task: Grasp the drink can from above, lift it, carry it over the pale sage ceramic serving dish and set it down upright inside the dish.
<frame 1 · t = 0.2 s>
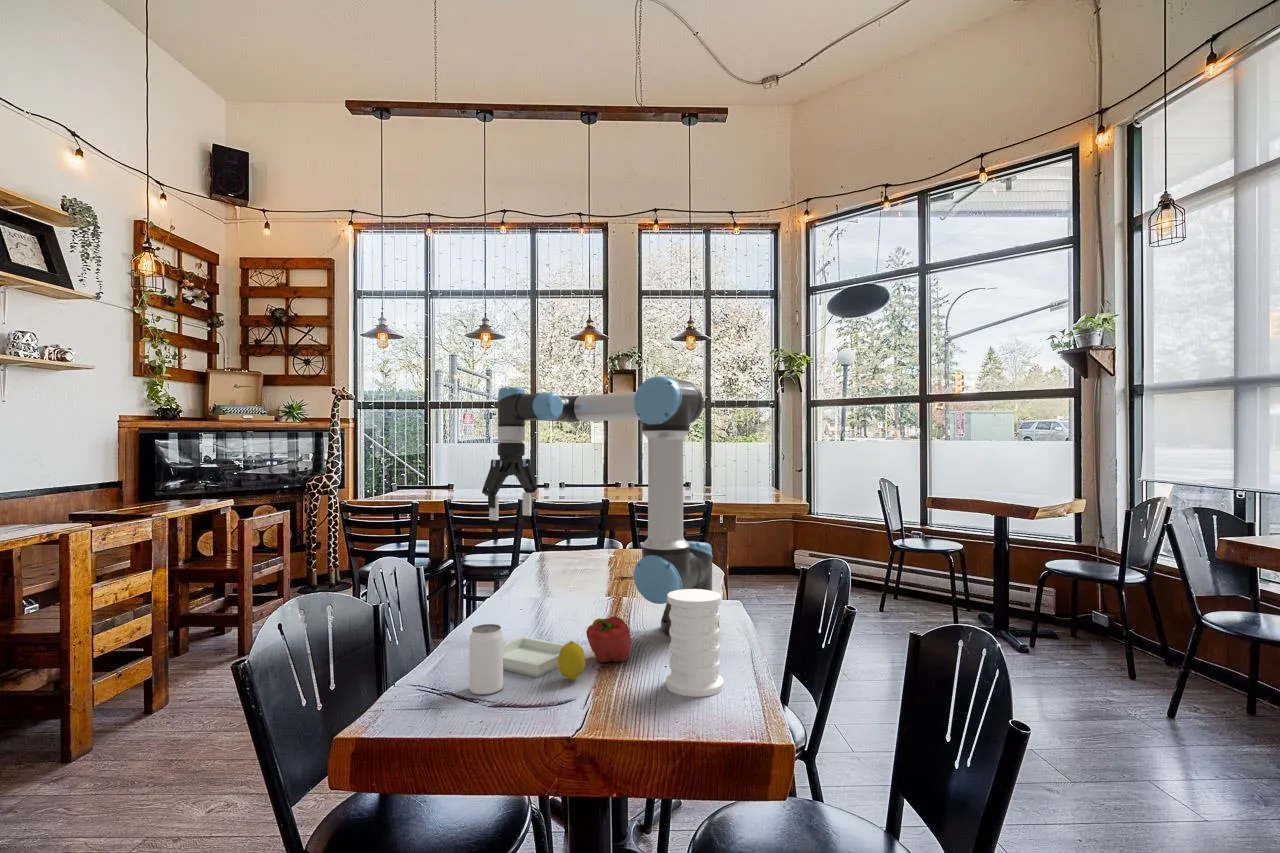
hand: (510, 517, 177), 28 cm above the table, fingers open, 13 cm apart
vegetable: (608, 661, 141), on the table
lemon: (571, 681, 129), on the table
dish: (529, 661, 141), on the table
can: (486, 690, 124), on the table
decorative container: (694, 686, 126), on the table
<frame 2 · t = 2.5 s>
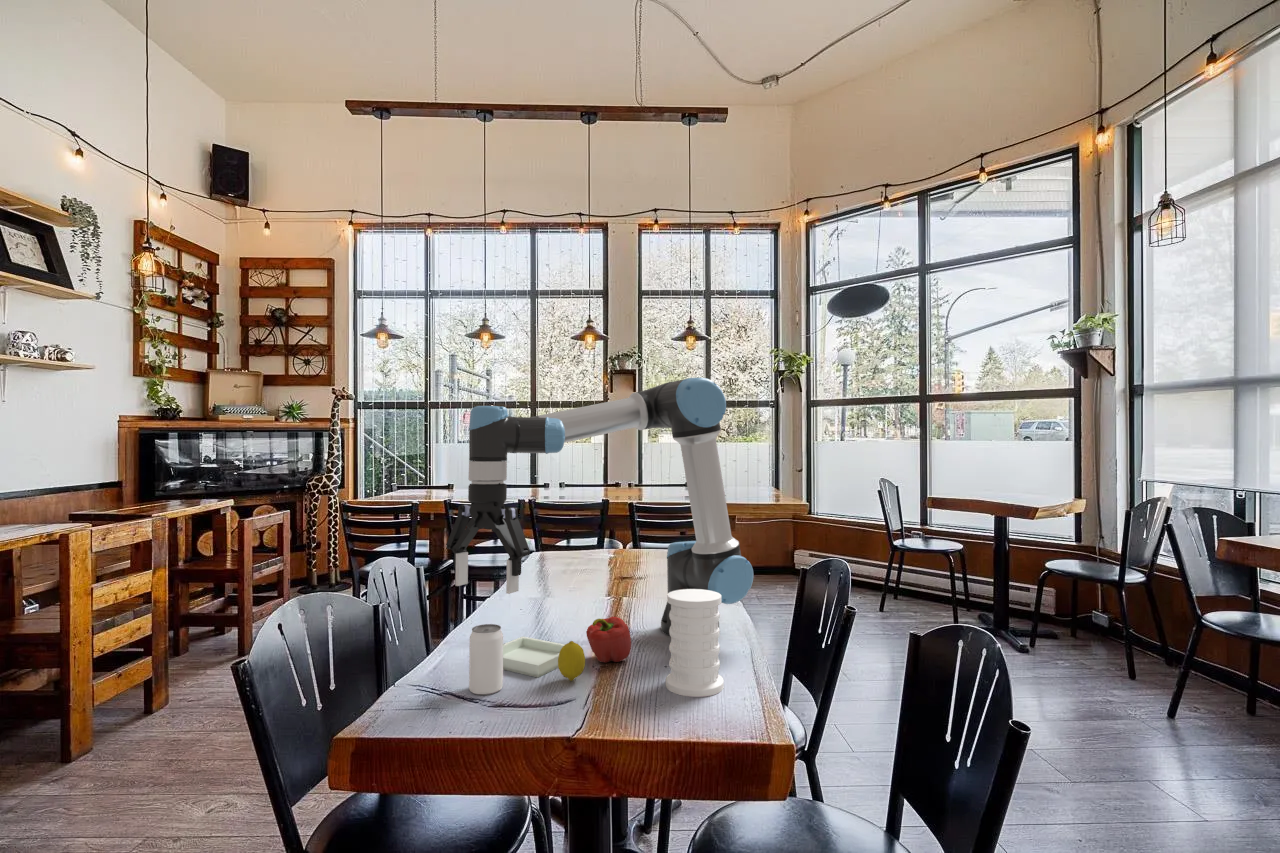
hand: (486, 588, 127), 19 cm above the table, fingers open, 13 cm apart
nothing on the table moved.
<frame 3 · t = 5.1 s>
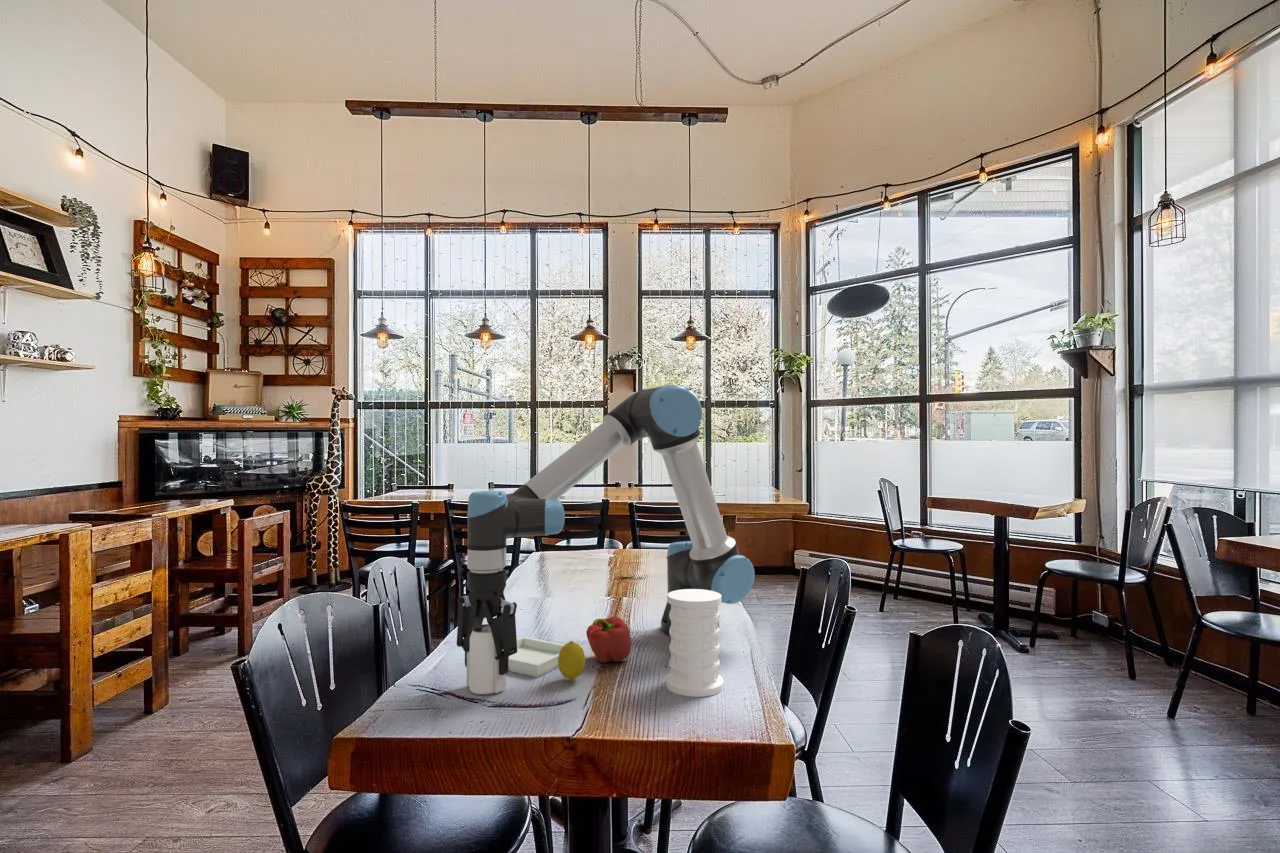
hand: (486, 686, 124), 0 cm above the table, fingers closed on can, 6 cm apart
can: (486, 690, 124), on the table, touching gripper
everything else where it was.
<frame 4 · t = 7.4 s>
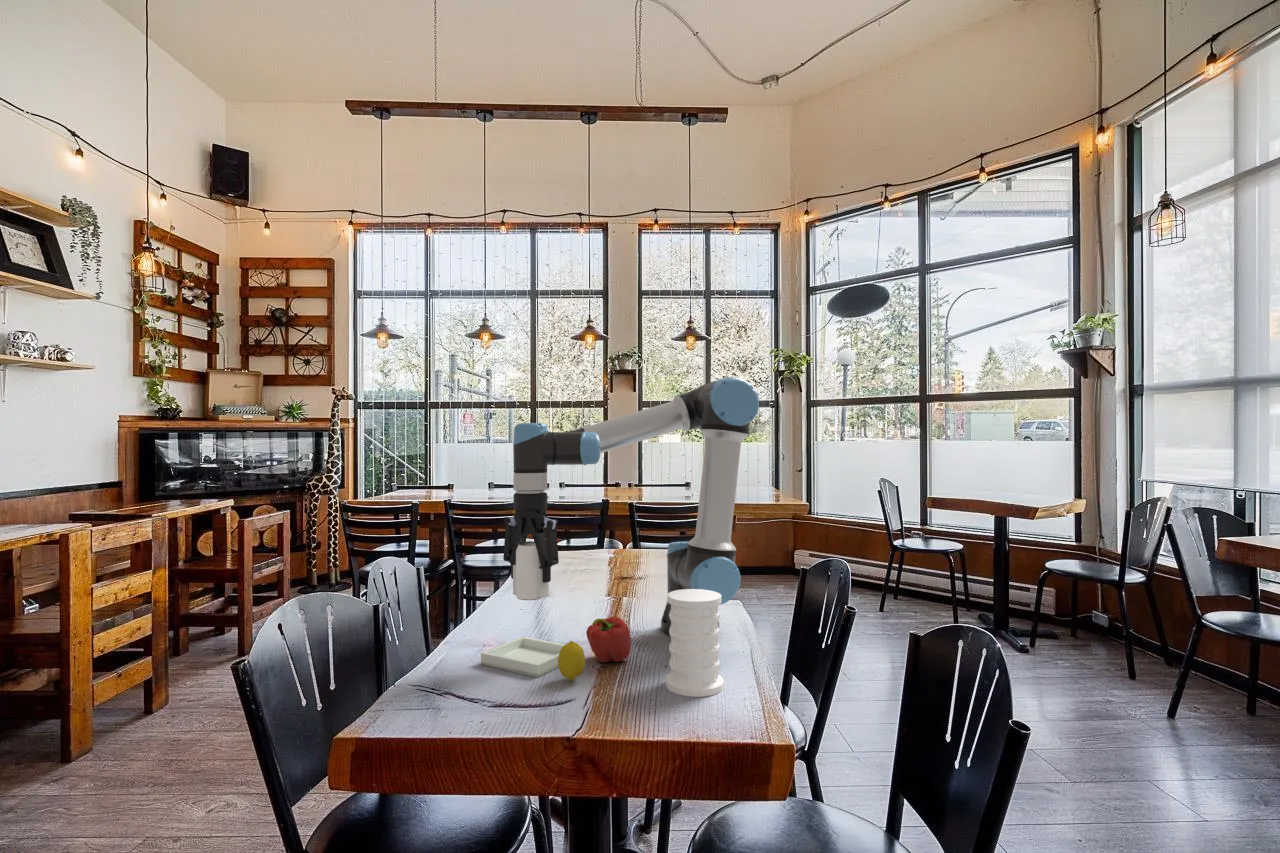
hand: (530, 595, 141), 15 cm above the table, fingers closed on can, 6 cm apart
can: (530, 598, 141), point 14 cm above the table, touching gripper
everything else where it was.
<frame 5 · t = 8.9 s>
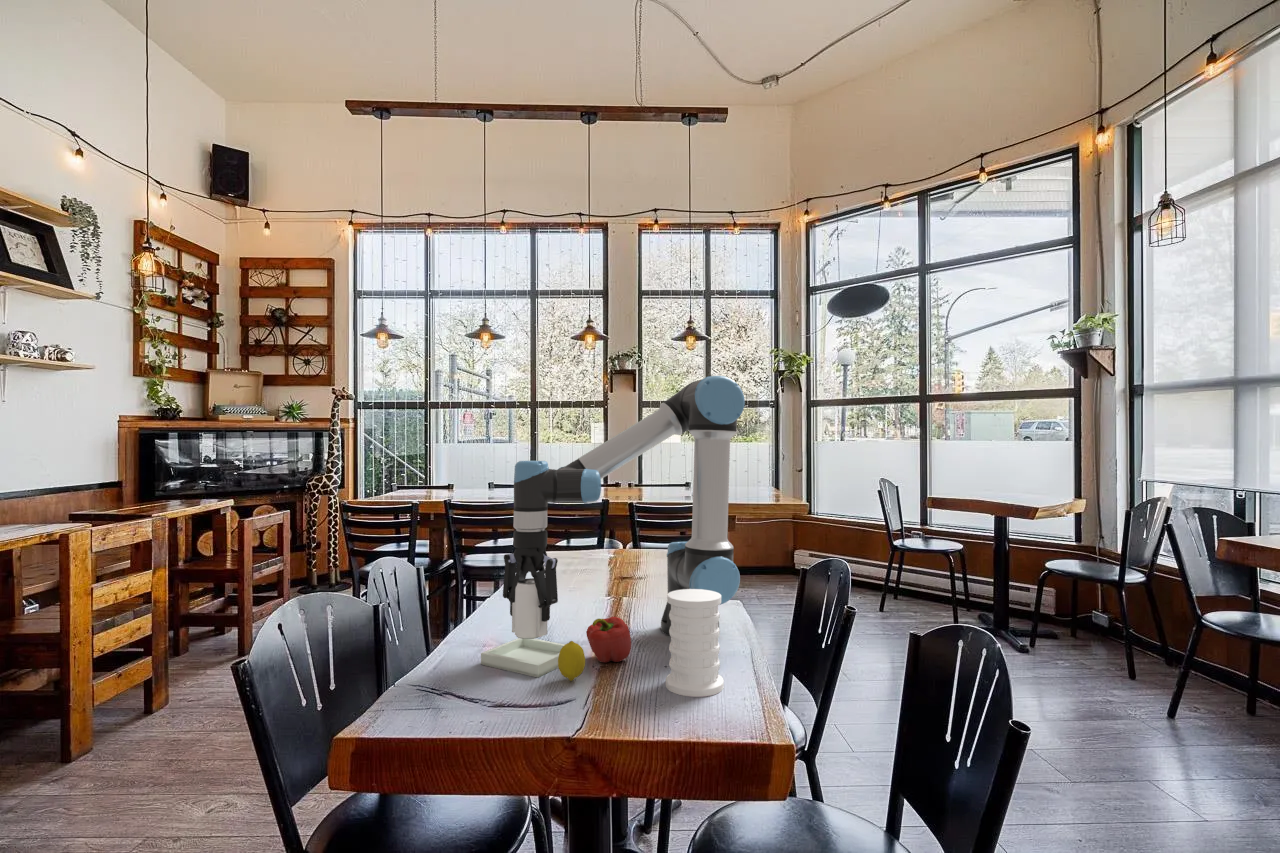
hand: (529, 633, 141), 6 cm above the table, fingers closed on can, 6 cm apart
can: (529, 636, 141), point 6 cm above the table, touching gripper
everything else where it was.
when the fingers open (3 cm above the table, at t = 9.9 s): can drops 2 cm, resting on dish.
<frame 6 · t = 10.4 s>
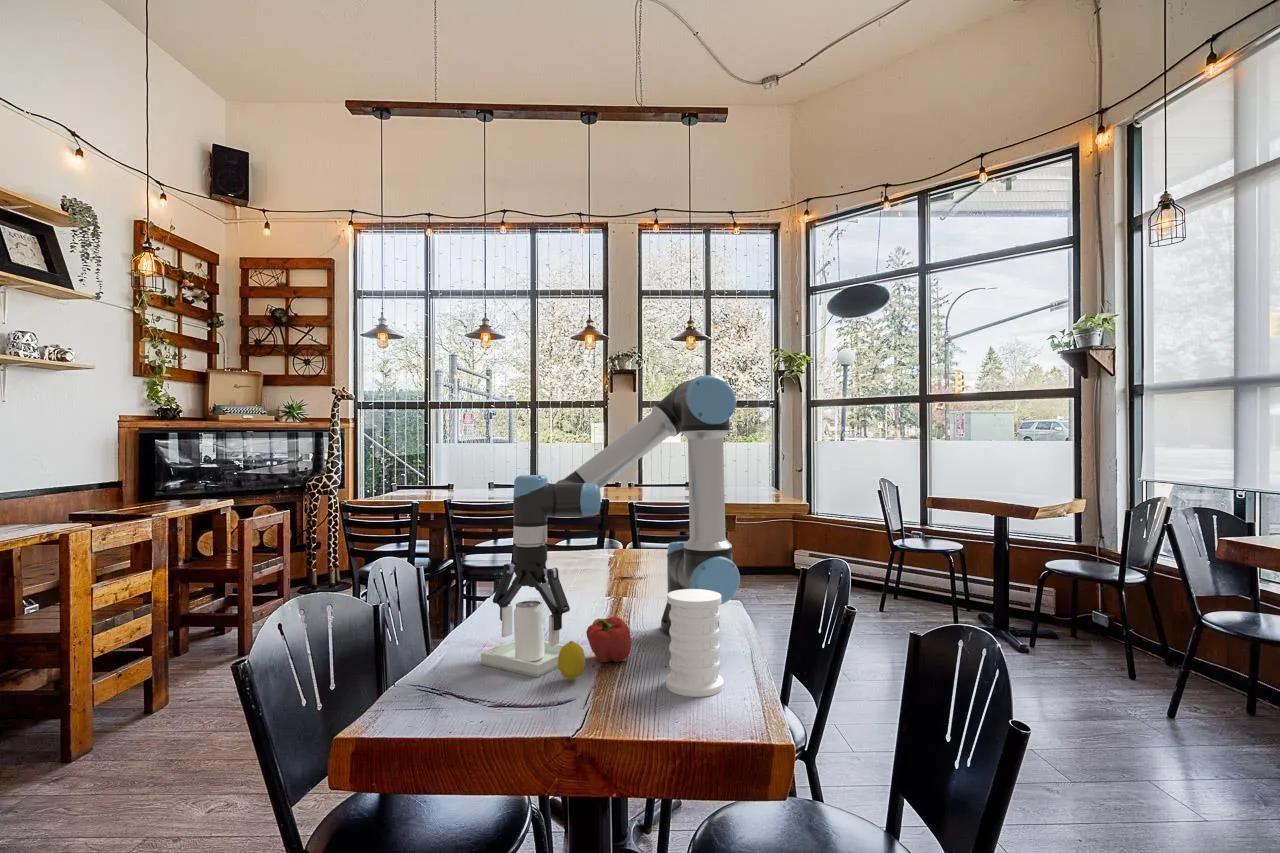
hand: (530, 640, 141), 5 cm above the table, fingers open, 13 cm apart
can: (529, 658, 141), point 1 cm above the table, touching dish
everything else where it was.
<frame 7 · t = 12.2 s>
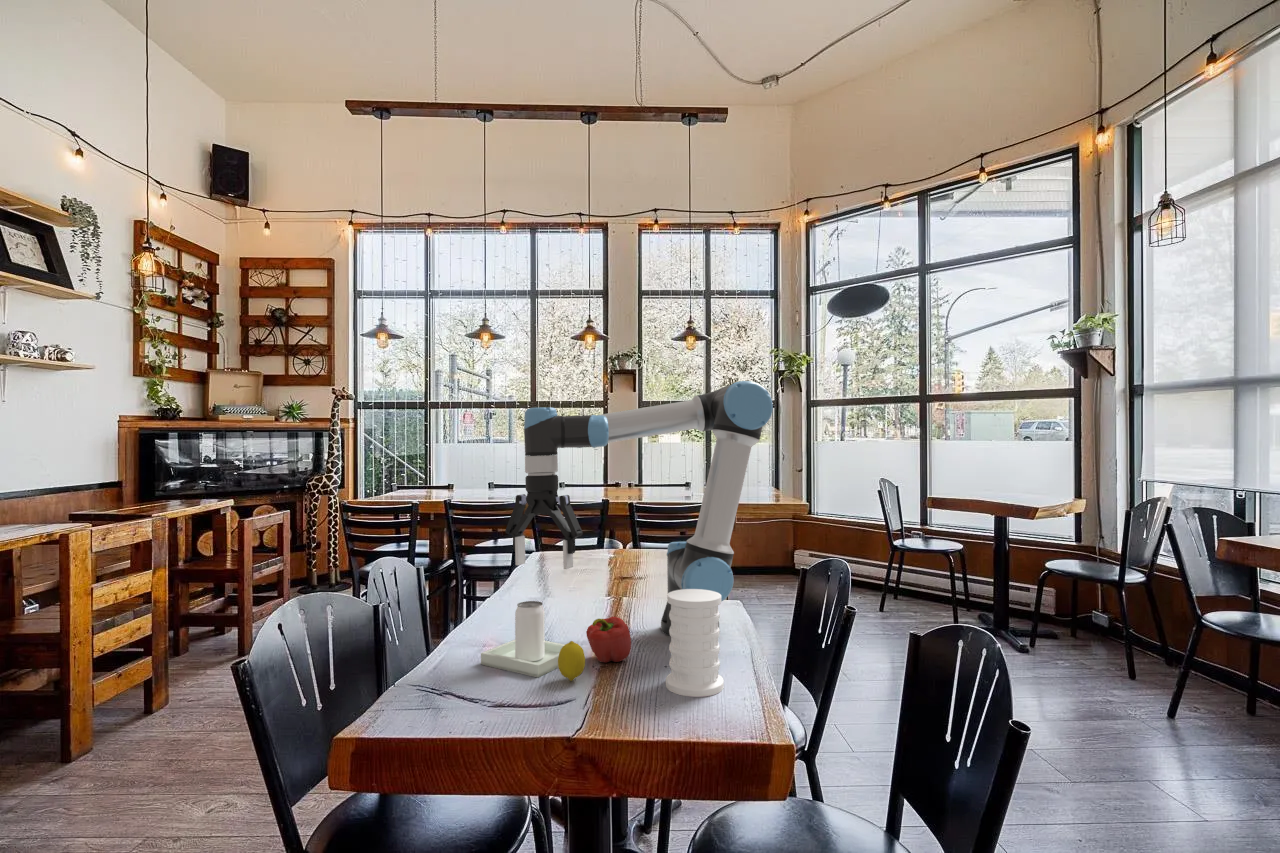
hand: (543, 566, 146), 20 cm above the table, fingers open, 13 cm apart
nothing on the table moved.
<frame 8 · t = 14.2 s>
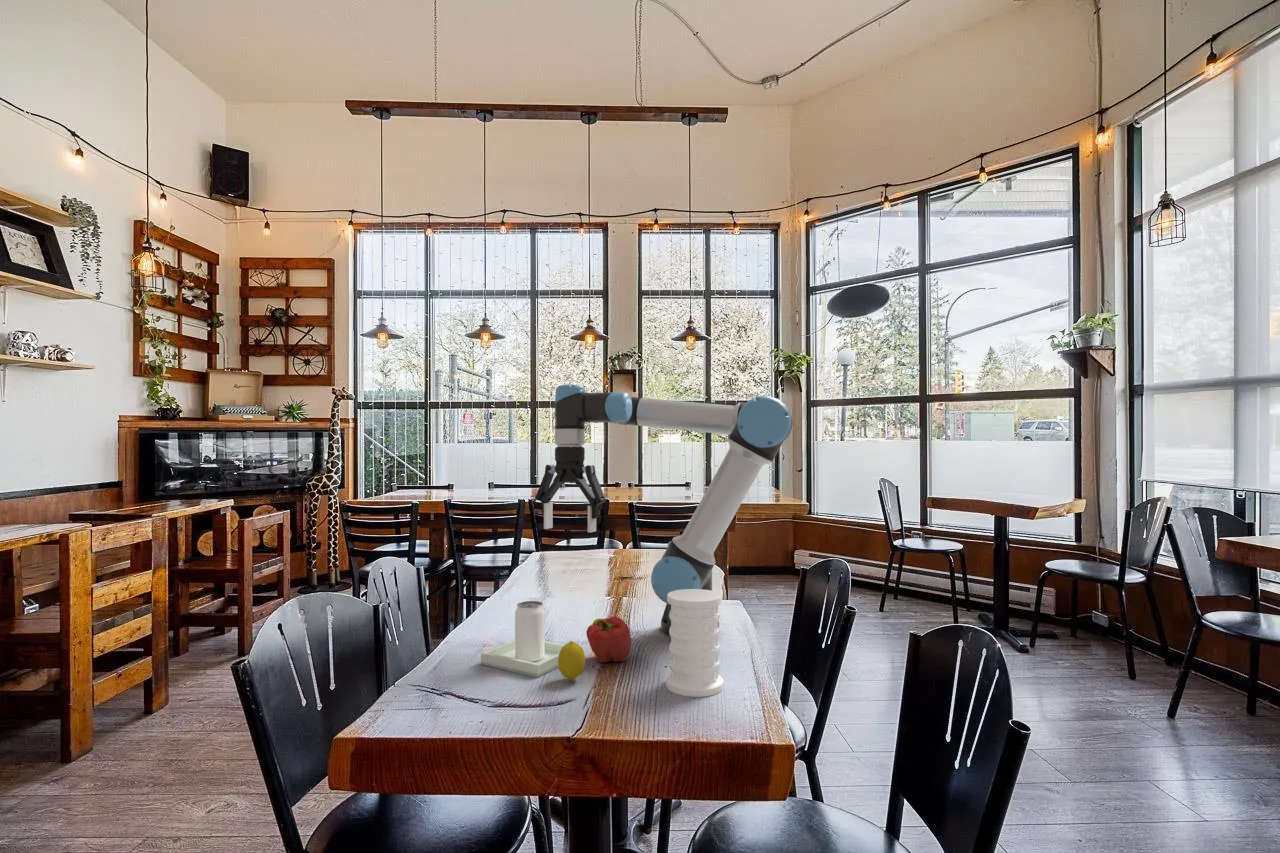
hand: (569, 530, 159), 27 cm above the table, fingers open, 13 cm apart
nothing on the table moved.
at the end: can inside the target area on the dish (0.1 cm from its centre), point 0.4 cm above the dish's base; can tilted 0°; the gripper is holding nothing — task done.
